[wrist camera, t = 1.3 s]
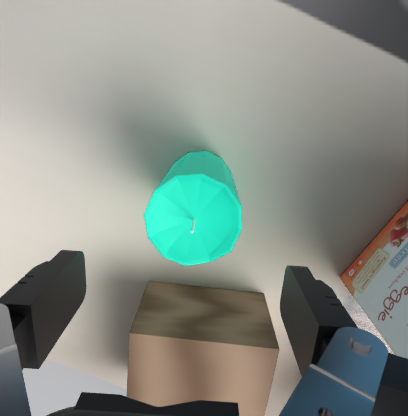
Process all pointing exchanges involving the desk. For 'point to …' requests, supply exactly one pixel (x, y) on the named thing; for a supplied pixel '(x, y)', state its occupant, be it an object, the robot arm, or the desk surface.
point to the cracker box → (384, 282)
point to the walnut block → (202, 347)
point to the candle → (195, 210)
